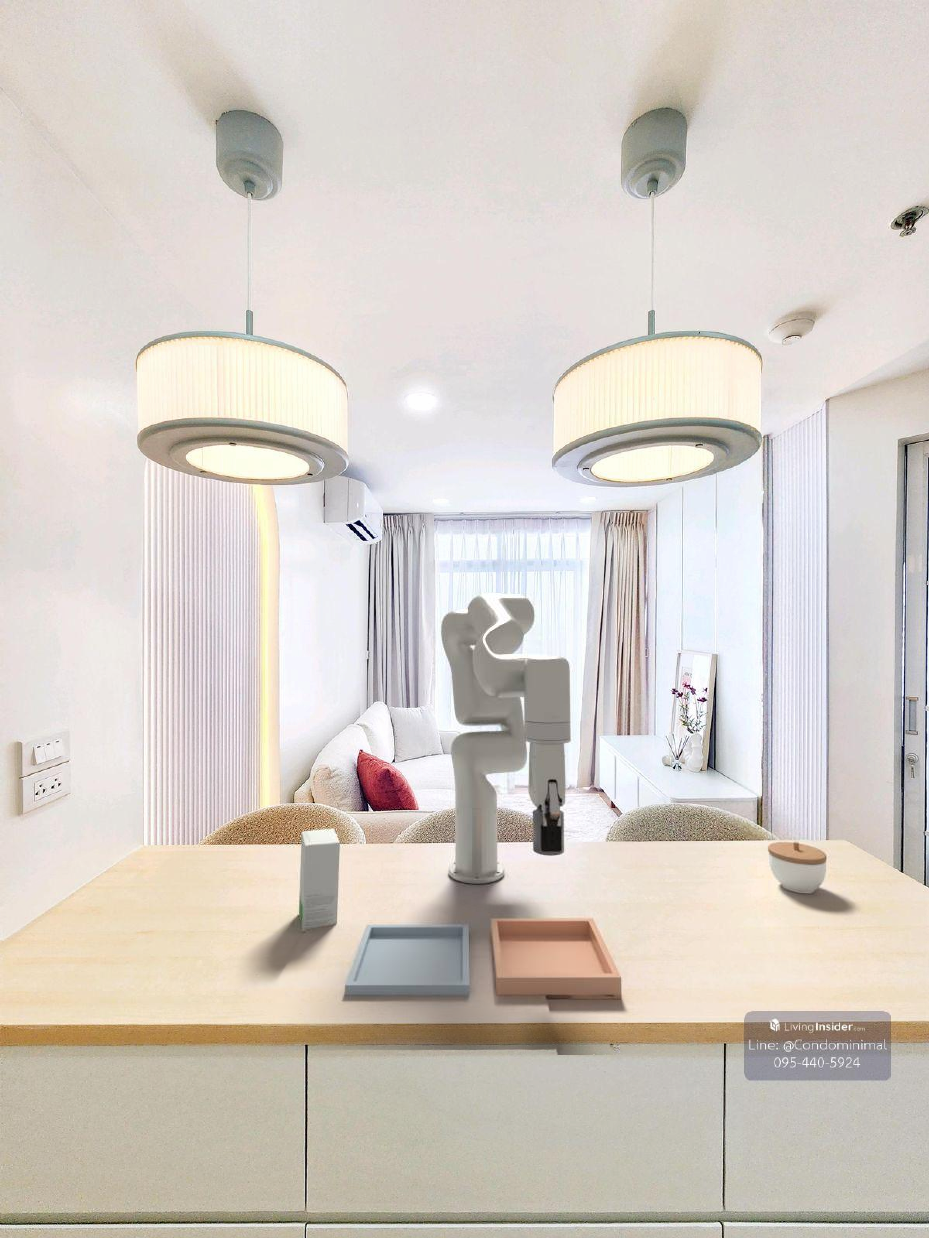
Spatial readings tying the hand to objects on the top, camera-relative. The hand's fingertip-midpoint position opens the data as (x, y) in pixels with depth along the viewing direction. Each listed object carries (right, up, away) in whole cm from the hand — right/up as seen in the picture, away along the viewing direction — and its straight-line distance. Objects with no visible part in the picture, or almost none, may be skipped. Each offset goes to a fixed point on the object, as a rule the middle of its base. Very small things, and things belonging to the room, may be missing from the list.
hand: (548, 843), depth 91 cm
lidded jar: (+57, -21, +28) cm, 67 cm away
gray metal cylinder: (0, -1, 0) cm, 1 cm away
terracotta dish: (0, -19, -1) cm, 19 cm away
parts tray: (-22, -19, -1) cm, 29 cm away
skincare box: (-41, -20, +14) cm, 48 cm away
